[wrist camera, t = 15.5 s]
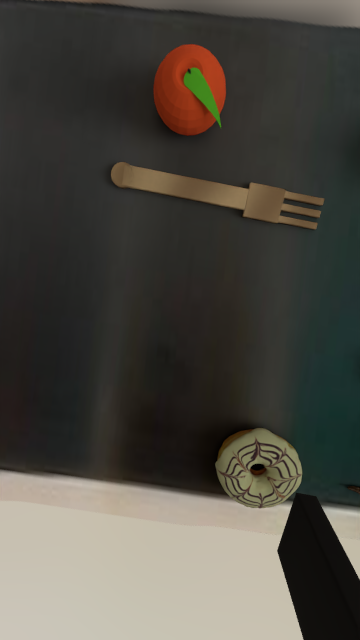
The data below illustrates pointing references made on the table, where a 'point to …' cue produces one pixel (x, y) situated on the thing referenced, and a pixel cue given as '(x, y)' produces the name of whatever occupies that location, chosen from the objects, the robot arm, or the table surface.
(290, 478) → the decorated donut
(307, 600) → the robot arm
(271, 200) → the fork
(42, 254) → the table surface
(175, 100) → the clementine
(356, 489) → the brown dinosaur figurine
